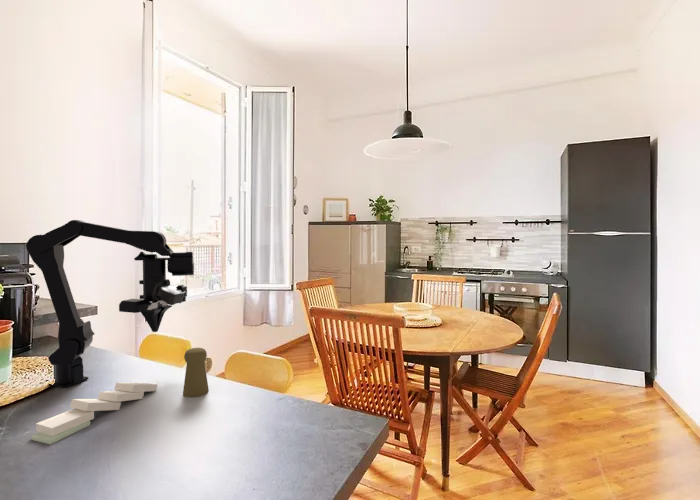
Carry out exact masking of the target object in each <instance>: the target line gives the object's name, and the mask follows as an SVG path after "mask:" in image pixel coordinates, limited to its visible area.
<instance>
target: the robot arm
mask: <svg viewBox="0 0 700 500" xmlns="http://www.w3.org/2000/svg"><path fill="white" fill-rule="evenodd" d="M79 237H86V238H90V239H98V240H104V241H109V242H114V243H119V244H120V243H121V244H125V245H128V246H131V247H134V248H136V249H138V250H142V251H140V252H139V254H138V255H137V256H135V257H134V259H133V260H134V261H135V262H136V261H142V279H141V280H139V281H138V283H139V285H142V294H140V295H139V298H130V299H124V300H121V301H120V303H119V304H118V312H121V313H132V314H133V313H134V314H136V313H137V314H138V313H141V316H143V317H144V319H145V321H146V322H147V324H148V326H149V327H150V330H151V331H152V333H157V332H158V331H159V328H160V326H161V323H162V321H163V318H164V315H165V313H166V311H168V310H169V309H170V308H172V306H174V305H176V304H182V303H184V302H186V299H187V296H188V287H187V285H186V284H184V283H183V284H178V285H177V286H176V285H175V286H173V285H171V281H170V278H169V279H168V278H167V277H166V274H167V273H169V274H171V276H173V277H175V276H176V277H177V276H178V277H179V276H180V277H181V276H194V275H195V262H194V252H193V251H186V252H185V251H184V252H180V251H179V252H177V251H176V252H174V250H172V248H171V247H170V246H169V245H168V243H167V238H166V236H165V235H164V234H163V233H162V232H160V231H156V230H155V231H153V230H151V231H150V230H149V231H148V230H128V229H123V228H118V227H113V226H106V225H102V224H96V223H91V222H86V221H83V220H81V219H80V220H79V219H72V220H70V221H67V223H65V224H63V225H61V226H59V227H56V228H54V229H52V230H50V231H48V232H46V233H44V234H36V235H34V236H31V237H30V238H29V239H28V240H27V242H26V243H25V249H26V251H27V253H28V255H29V256H30V258H31V261H33V263H34V264H35V265H36V266H37V267H38V268H39V270H40V271H41V272H42V275H43V279H44V282H45V284H46V287H47V290H48V293H49V297H50V299H51V300H50V301H51V302H52V306H53V309H54V312H55V315H56V317H57V321H58V332H57V340H58V348H57V349H56V350H55V351H53V352H52V353H51V354H50V355H49V356H47V357H48V359H47V360H48V361H49V363H50V365H52V367H53V368H52V369H53V380H54V379H55V383H54V384H53V387H60V388H68V387H69V388H70V387H71V386H73V385H76V384H80V383H83V382H85V381H86V380H88V379H89V376H85V375H84V364H83V363H84V362H83V360H84V359H83V357H82V356H81V355H83V354H84V352H85V351H86V349H87V348H88V347H90V345H91V344H92V343H93V340H94V337H93V336H95V335H96V334H95V332H94V331H93V329H92V323H91V321H90V320H88V321H84V320H82V318H81V317H80V315H79V312H78V308H77V306H76V302H75V300H74V296H73V293H72V290H71V287H70V284H69V281H68V278H67V274H66V271H65V269H64V261H65V250H64V248H65V246H67V245H69V244H71V243H72V242H73V241H75V240H77V239H78V238H79ZM145 252H147V253H145ZM148 252H149V253H150V254H149V253H148ZM151 253H152V254H151ZM155 253H156V254H155ZM158 255H160V256H161V257H159V256H158ZM166 261H167V266H166ZM166 268H167V270H166ZM166 271H167V273H166Z"/></svg>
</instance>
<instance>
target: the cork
mask: <svg viewBox="0 0 700 500" xmlns="http://www.w3.org/2000/svg"><path fill="white" fill-rule="evenodd" d="M207 353H208V352H207V350H206V349H205V348H203V347H191V348H188V349H187V350H186V351H185V352H184V357H183V358H184V361H185V363H186V367H185V374H184V381H183V391H182V395H183V397H186V398H197V397H198V398H199V397H201V396H205V395H207V394H208V393H209V391H210V390H209V383H208V382H209V381H208V377H207V370H206V364H205V363H206V362H205V361H206V359H207V357H208V354H207Z"/></svg>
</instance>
